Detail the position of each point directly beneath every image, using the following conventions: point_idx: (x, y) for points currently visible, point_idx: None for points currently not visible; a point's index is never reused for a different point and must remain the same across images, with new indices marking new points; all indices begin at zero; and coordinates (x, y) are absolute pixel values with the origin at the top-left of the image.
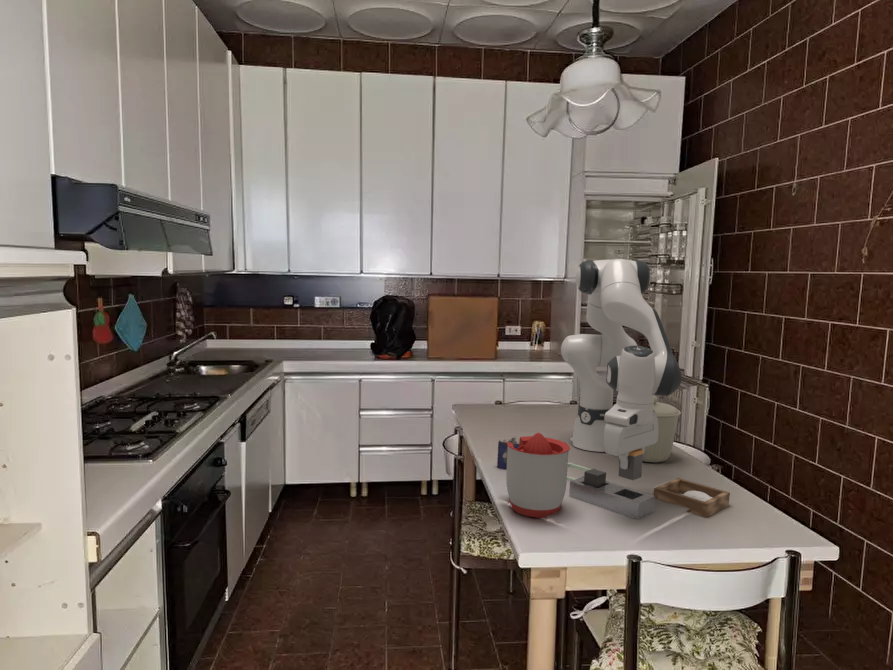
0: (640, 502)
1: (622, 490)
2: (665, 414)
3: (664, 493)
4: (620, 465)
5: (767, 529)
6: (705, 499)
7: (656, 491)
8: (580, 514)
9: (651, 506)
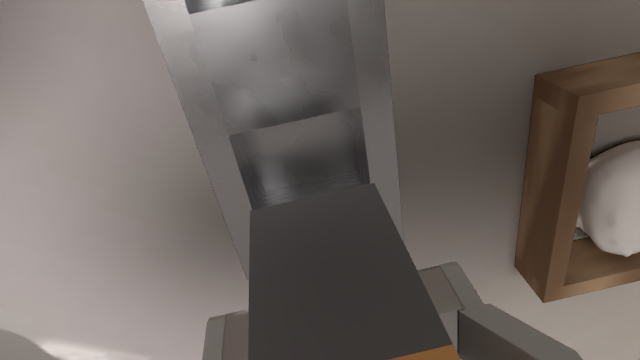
0: None
1: (332, 110)
2: None
3: (561, 147)
4: (206, 333)
5: None
6: (615, 248)
7: (567, 105)
8: (40, 35)
9: None
